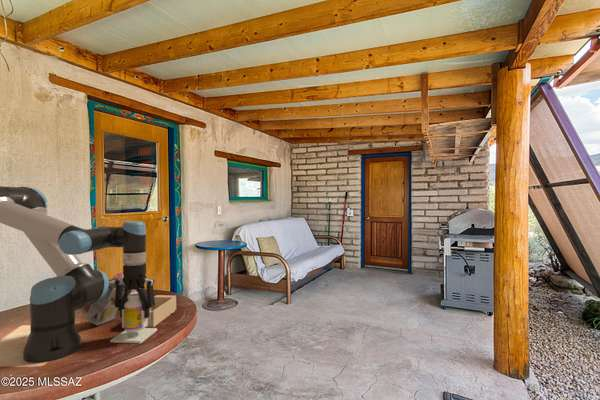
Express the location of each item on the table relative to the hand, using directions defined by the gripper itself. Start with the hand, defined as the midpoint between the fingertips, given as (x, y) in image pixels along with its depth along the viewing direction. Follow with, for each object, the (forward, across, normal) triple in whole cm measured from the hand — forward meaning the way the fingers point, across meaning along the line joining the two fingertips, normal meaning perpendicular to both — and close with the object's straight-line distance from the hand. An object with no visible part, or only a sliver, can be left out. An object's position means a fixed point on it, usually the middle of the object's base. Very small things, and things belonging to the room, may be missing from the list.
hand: (134, 326), depth 117 cm
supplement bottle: (+1, 0, 0) cm, 1 cm away
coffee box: (+2, -22, +11) cm, 25 cm away
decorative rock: (+4, -26, +33) cm, 42 cm away
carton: (+4, -3, +18) cm, 19 cm away
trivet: (+4, 0, 0) cm, 4 cm away
